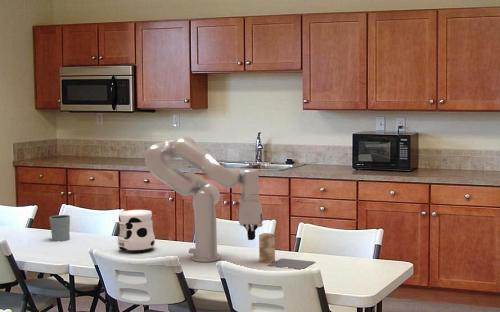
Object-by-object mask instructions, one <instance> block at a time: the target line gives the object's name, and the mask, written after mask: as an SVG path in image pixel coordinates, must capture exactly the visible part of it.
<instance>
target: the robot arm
mask: <svg viewBox="0 0 500 312" xmlns="http://www.w3.org/2000/svg"><path fill="white" fill-rule="evenodd" d="M178 158H180V159H182V160H183V161H185V162H187V163H189V164H191V165H192V166H193V167H194V168H197V169H198V170H200V171H201V172H202V173H203V174H204V175H205V176H207V177H208V178H210V179H211V180H212V181H214V182H215V183H217V184H219V185H220V186H222V187H225V188H227V189H232V188H235V187H236V186H238V185H241V193H240V194H239V197H238V198H240V201H239V204H238V205H239V206H238V214H237V215H238V216H237V220H238V223H239V226H241V227H244V229H245V230H246V232H247V235H246V236H247V240H248V241H254V240H255V239H256V230H257V229H258V228H261V227H263V221H264V216H263V215H264V214H263V207H262V203H261V200H260V191H259V190H260V189H259V186H260V185H259V180H260V179H259V171H258V170H257V169H256V168H255V169H253V168H245V169H243V168H234V167H233V168H230V169H228V168H227V167H225V166H223V165H222V164H220V163H219V162H218V161H217V160H216V159H215V158H214V156H213V155H212V153H211V152H210V151H209V150H206V149H204V148H202V147H201V146H199V145H197V144H196V141H195V139H193V138H191V137H190V136H183V137H179V138H176V139H175V138H174V139H172V140H166V141H162V142H161V141H160V142H158V143H154V144H151V145H150V146H148V148H147V149H146V151H145V153H144V163H145V167H146V169H147V170H148V171H149V172H150V174H151V175H152V176H153V177H155V178H156V179H158V180H159V181H161V182H162V183H164V184H165V185H166V186H167V187H169V188H170V189H172V190H174V191H175V192H176V193H177V194H179V195H181V196H189V195H190V196H192V197H193V198H192V209H193V215H194V216H193V217H194V218H193V219H194V242H195V243H194V245H195V246H194V247H190V248H189V250H188V254H193V256H191V258H192V259H191V260H192V261H195V262H199V263H201V262H202V263H209V262H210V263H211V262H216V261H219V260H220V259H221V258H222V255H220V254H219V253H218V238H217V236H218V235H217V234H218V233H217V232H218V231H217V214H216V212H217V211H216V205H217V203H219V202H220V198H221V194H220V193H221V192H220V190H219V189H218V188H217V187H216V186H215V185H213V184H212V183H210V182H209V181H207V180H206V179H204V178H203V177H201V176H200V175H199V174H196V173H194V172H183V171H182V170H180V169H179V168H177V167H176V166H174V165H172V164H170V163H169V162H167V161H169V160H174V159H178Z"/></svg>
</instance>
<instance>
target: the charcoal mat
mask: <svg viewBox="0 0 500 312" xmlns="http://www.w3.org/2000/svg"><path fill="white" fill-rule="evenodd" d="M315 263H316V261H311V260H303V259H293V258H280V259H278V260H275V261H274V262H272V263H270V264H269V263H268V264H267V265H266V266H267V267H272V266H276V267H275V268H281V267H288V268H287V269H291V268H294V270H300V269H303V270H304V269H307V268H308V267H309V266H311V265H314V264H315Z"/></svg>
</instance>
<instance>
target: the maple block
mask: <svg viewBox="0 0 500 312" xmlns="http://www.w3.org/2000/svg"><path fill="white" fill-rule="evenodd" d="M275 236H276V235H275V233H268V232H263V233H261V234H259V235H258V240H259V241H258V248H259V249H258V252H259V254H258V255H259V258H258V259H259V263H262V264H269V263H270V264H271V263H273V262H275V261H276V242H275V241H276V240H275Z"/></svg>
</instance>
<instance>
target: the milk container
mask: <svg viewBox="0 0 500 312" xmlns="http://www.w3.org/2000/svg"><path fill="white" fill-rule="evenodd" d="M118 213H119V214H118V236H117V245H118V249H119V250H121V251H124V252H127V253H142V252H146V251H150V250H152V249H153V248H154V247H155V243H156V242H155V241H156V238H155V233H154V230H153V228H154V227H153V213H152V210H147V209H130V210H123V211H120V212H118Z"/></svg>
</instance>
